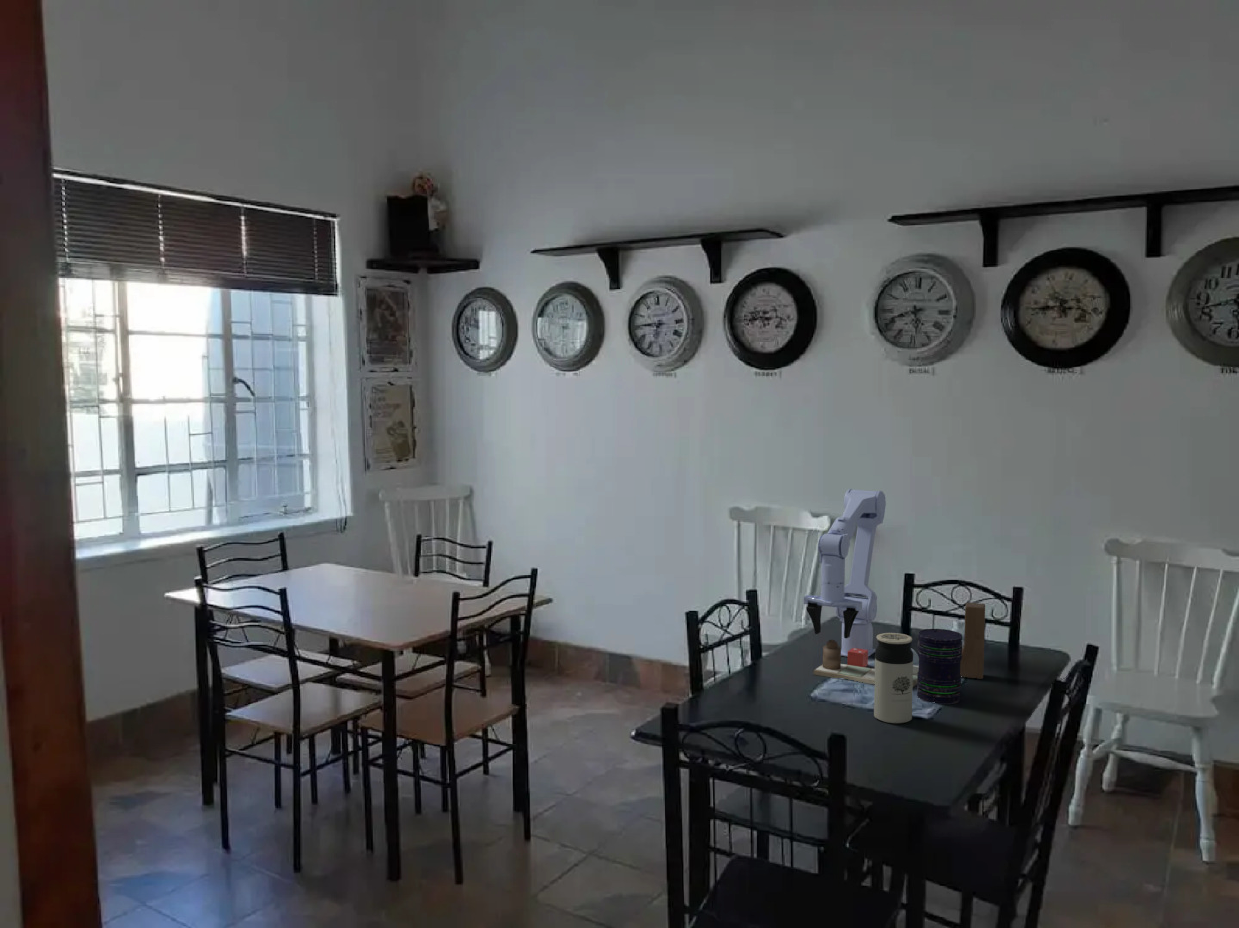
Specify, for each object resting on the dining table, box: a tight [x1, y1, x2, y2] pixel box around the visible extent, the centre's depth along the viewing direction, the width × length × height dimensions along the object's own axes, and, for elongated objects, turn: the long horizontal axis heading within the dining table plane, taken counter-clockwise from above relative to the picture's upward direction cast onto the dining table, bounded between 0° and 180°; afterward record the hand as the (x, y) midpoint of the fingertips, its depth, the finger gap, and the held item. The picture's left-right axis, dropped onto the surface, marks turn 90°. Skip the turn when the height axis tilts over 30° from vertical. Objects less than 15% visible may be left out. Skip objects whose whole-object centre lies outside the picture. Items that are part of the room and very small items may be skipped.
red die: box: [846, 648, 869, 668], centre depth 254 cm, size 4×4×4 cm
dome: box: [910, 647, 919, 666], centre depth 249 cm, size 7×7×5 cm
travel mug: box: [873, 632, 914, 724], centre depth 215 cm, size 8×8×18 cm
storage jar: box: [916, 628, 963, 705], centre depth 229 cm, size 10×10×15 cm
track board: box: [813, 663, 918, 689], centre depth 245 cm, size 9×24×1 cm, turn 58°
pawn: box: [822, 639, 842, 670], centre depth 249 cm, size 4×4×7 cm
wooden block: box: [960, 602, 986, 680], centre depth 245 cm, size 9×4×18 cm, turn 68°
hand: (832, 635), depth 249 cm, fingers open, 7 cm apart
